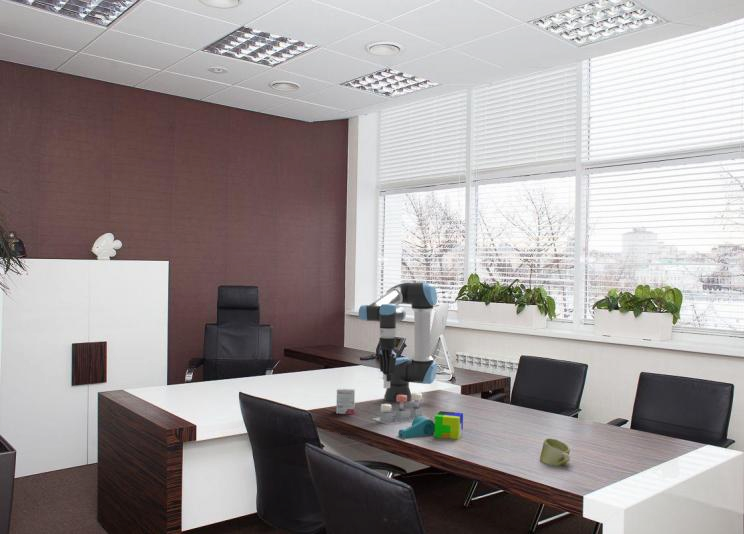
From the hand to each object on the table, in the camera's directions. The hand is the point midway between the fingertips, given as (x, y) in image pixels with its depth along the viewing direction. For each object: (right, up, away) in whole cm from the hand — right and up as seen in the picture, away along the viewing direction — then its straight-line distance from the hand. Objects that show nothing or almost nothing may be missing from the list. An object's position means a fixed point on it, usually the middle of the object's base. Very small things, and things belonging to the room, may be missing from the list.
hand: (386, 387), depth 287 cm
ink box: (-20, -16, +17) cm, 31 cm away
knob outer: (0, -14, 0) cm, 14 cm away
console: (+7, -16, +5) cm, 18 cm away
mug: (+57, -17, -61) cm, 85 cm away
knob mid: (+7, -11, +5) cm, 14 cm away
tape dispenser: (+12, -17, -23) cm, 31 cm away
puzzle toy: (+26, -17, -24) cm, 39 cm away
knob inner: (+14, -11, +10) cm, 21 cm away
